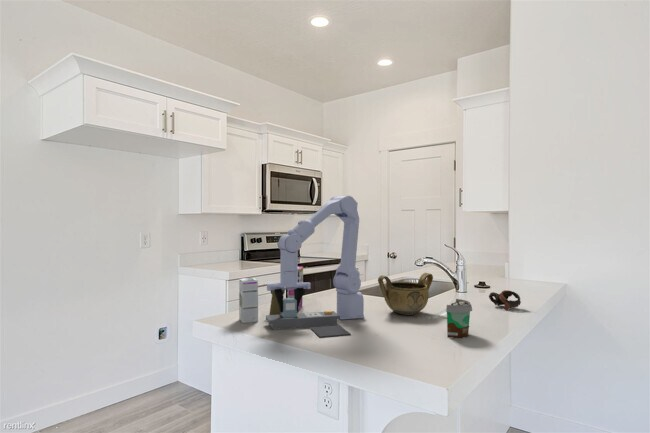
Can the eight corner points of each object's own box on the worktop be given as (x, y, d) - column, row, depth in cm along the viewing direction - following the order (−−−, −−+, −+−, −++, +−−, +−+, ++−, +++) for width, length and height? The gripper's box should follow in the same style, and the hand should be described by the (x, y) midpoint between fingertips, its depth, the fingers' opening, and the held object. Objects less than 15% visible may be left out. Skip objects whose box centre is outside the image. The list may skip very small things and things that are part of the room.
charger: (293, 313, 133) (293, 297, 133) (296, 317, 129) (296, 300, 129) (280, 314, 132) (280, 298, 132) (283, 318, 127) (283, 301, 127)
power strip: (333, 319, 139) (333, 308, 139) (339, 324, 132) (340, 313, 132) (265, 324, 131) (265, 313, 131) (269, 329, 125) (269, 317, 125)
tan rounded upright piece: (282, 318, 139) (283, 287, 140) (266, 317, 141) (267, 286, 141) (287, 314, 145) (288, 284, 146) (272, 313, 147) (272, 284, 147)
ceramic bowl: (419, 306, 161) (419, 270, 161) (444, 316, 145) (444, 275, 145) (370, 310, 154) (370, 272, 154) (390, 320, 138) (390, 278, 138)
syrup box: (258, 321, 134) (259, 279, 135) (241, 323, 132) (241, 280, 132) (255, 318, 140) (255, 277, 140) (238, 319, 137) (238, 278, 138)
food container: (467, 342, 114) (467, 307, 114) (446, 338, 117) (446, 305, 117) (475, 332, 124) (476, 300, 125) (456, 329, 128) (456, 298, 128)
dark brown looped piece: (517, 307, 163) (523, 292, 159) (515, 322, 156) (521, 306, 152) (487, 298, 168) (492, 283, 164) (484, 311, 161) (489, 296, 157)
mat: (339, 326, 129) (339, 325, 129) (350, 335, 120) (350, 333, 120) (310, 328, 126) (310, 327, 126) (319, 337, 117) (319, 336, 117)
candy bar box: (299, 312, 150) (299, 269, 150) (286, 311, 150) (286, 269, 150) (303, 305, 161) (303, 266, 161) (291, 305, 161) (291, 265, 161)
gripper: (306, 268, 136) (306, 307, 136) (265, 269, 132) (265, 310, 132) (312, 270, 130) (312, 311, 129) (268, 272, 125) (268, 314, 125)
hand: (288, 311), depth 130 cm, fingers closed on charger, 4 cm apart
